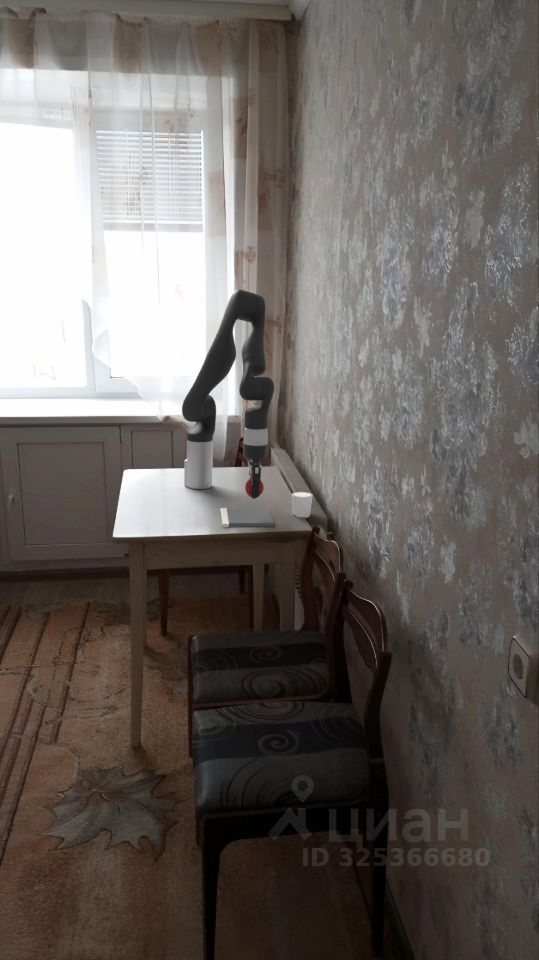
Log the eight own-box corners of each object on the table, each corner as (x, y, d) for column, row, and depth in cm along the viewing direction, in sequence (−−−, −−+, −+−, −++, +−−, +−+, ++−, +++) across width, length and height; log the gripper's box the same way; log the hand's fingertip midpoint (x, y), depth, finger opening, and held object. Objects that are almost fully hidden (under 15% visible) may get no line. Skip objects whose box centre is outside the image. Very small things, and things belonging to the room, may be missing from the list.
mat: (222, 527, 228) (222, 523, 228) (220, 511, 244) (220, 507, 243) (274, 527, 230) (274, 523, 230) (269, 511, 245) (269, 507, 245)
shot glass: (289, 511, 246) (290, 491, 244) (310, 511, 246) (311, 491, 244) (292, 518, 239) (292, 497, 237) (313, 518, 240) (314, 497, 238)
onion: (261, 502, 232) (261, 477, 230) (243, 500, 233) (243, 475, 231) (264, 497, 238) (265, 472, 235) (247, 495, 239) (247, 471, 236)
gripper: (270, 447, 224) (268, 500, 228) (265, 437, 238) (263, 487, 242) (245, 447, 223) (243, 501, 228) (241, 436, 237) (240, 487, 241)
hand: (254, 494), depth 235 cm, fingers closed on onion, 6 cm apart
